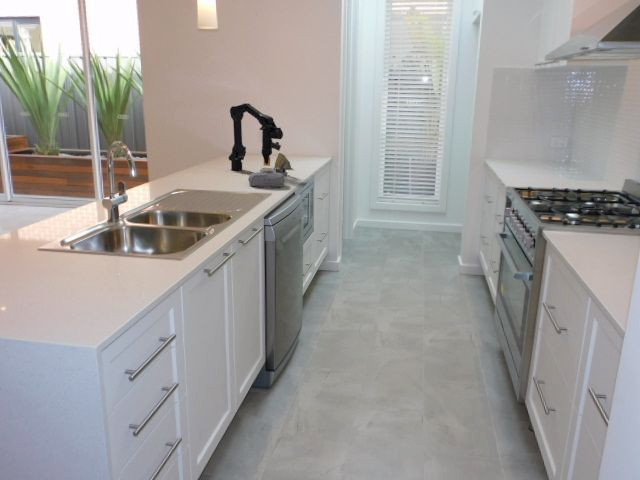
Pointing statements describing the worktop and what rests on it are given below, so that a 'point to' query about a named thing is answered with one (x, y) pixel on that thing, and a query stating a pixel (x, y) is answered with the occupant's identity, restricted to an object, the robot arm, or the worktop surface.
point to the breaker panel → (274, 170)
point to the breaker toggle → (284, 165)
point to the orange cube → (268, 162)
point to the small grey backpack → (266, 179)
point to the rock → (281, 161)
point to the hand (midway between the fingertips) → (266, 163)
